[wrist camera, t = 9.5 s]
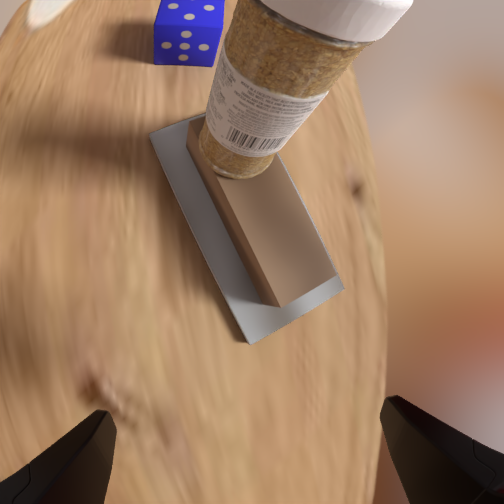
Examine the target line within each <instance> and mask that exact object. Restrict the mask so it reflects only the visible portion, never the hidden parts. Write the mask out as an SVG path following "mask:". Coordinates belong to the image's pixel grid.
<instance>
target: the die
mask: <svg viewBox="0 0 504 504" xmlns="http://www.w3.org/2000/svg"><path fill="white" fill-rule="evenodd" d="M224 1H225V0H161V2H160V6H159V9H158V13H157V16H156V20H155V23H154V64H155V65H190V66H207V67H212V66H213V64H214V60H215V56H216V52H217V48H218V45H219V41H220V37H221V33H222V30H223V18H224Z"/></svg>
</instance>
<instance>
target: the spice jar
mask: <svg viewBox="0 0 504 504" xmlns="http://www.w3.org/2000/svg"><path fill="white" fill-rule="evenodd" d="M412 3H413V0H238V2H237V5H236V8H235V10H234V13H233V19H232V22H231V25H230V27H229V30H228V32H227V34H226V36H225V39H224V42H223V46H222V49H221V53H220V57H219V61H218V65H217V68H216V72H215V76H214V80H213V84H212V88H211V92H210V96H209V100H208V104H207V108H206V118H205V122H204V126H203V128H202V130H201V132H200V135H199V151H200V153H201V155H202V158H203V159H204V161H205V162H206V163H207V165H208V166H209V167H211V168H212V170H214V171H215V172H216V173H218V174H220V175H223V176H225V177H228V178H233V179H247V178H252V177H254V176H256V175H258V174H260V173H262V172H263V171H264V170H265V169H267V168H268V166H269V165H270V164H271V162H272V160H273V158H274V155H275V154H276V153H277V152H278V151H279V150H280V149H281V148H282V147H283V146H284V145H285V143H286V142H287V141H288V140H289V139H290V138H291V136H292V135H293V134H294V133H295V131H296V130H297V129H298V128H299V127H300V126H301V125H302V123H303V122H304V121H305V120H306V119H307V117H308V116H309V115H310V114H311V113H312V112H313V110H314V109H315V108H316V107H317V106H318V104H319V103H320V102H321V101H322V100H323V99H324V97H325V96H326V95H327V93H328V92H329V90H330V89H331V87H332V86H333V85H334V83H335V82H336V81H337V80H338V78H339V77H340V76H341V75H342V73H343V72H344V71H345V70H346V69H347V68H348V67H349V65H350V64H351V63H352V61H353V60H354V59H355V58H356V57H357V56H358V55H359V53H360V51H362V50H363V49H364V48H365V47H366V46H369V45H371V44H372V43H373V42H374V41H375V40H378V39H381V38H382V37H383V36H384V35H385V34H386V33H387V32H388V31H389V30H390V29H391V28H392V27H393V25H394V24H395V23H396V22H397V21H398V20H399V19H400V18H401V16H402V15H403V14H404V13H405V12H406V11H407V10H408V9H409V7H410V6H411V5H412Z"/></svg>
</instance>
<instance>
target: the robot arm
mask: <svg viewBox="0 0 504 504" xmlns="http://www.w3.org/2000/svg"><path fill="white" fill-rule="evenodd" d="M380 421H381V424H382V428H383V431H384V435H385V438H386V442H387V445H388V449H389V452H390V455H391V458H392V461H393V463H394V465H395V468H396V470H397V473H398V475H399V478H400V480H401V483H402V485H403V488H404V490H405V493H406V495H407V498H408V501H409V503H410V504H504V454H503V453H500V452H498V451H496V450H494V449H491V448H489V447H487V446H485V445H483V444H481V443H480V442H478V441H476V440H474V439H473V440H472V438H470V437H469V436H467V435H465V434H463V433H462V432H460V431H458V430H456V429H454V428H453V427H451V426H449V425H447V424H446V423H444V422H442V421H440V420H439V419H437V418H435V417H434V416H432V415H430V414H429V413H427V412H425V411H423V410H422V409H420V408H418V407H417V406H415V405H413V404H412V403H410V402H408V401H407V400H405V399H403V398H402V397H400V396H398V395H393V396H389V397H386V398H385V400H384V403H383V406H382V409H381V412H380ZM116 434H117V430H116V426H115V423H114V421H113V419H112V417H111V414H110V412H109V411H107V410H99V409H98V410H96V411H94V412H93V413H92V414H91V415H89V416H88V417H87V418H86V419H84V420H83V421H82V422H80V423H79V424H78V425H77V426H75V427H74V428H73V429H72V430H70V431H69V432H68V433H67V434H65V435H64V436H63V437H61V438H60V439H59V440H58V441H56V442H55V443H54V444H53V445H51V446H50V447H49V448H47V449H46V450H45V451H44V452H42V453H41V454H40V455H38V456H37V457H36V458H34V459H33V460H32V461H31V462H30V463H28V464H27V465H25V466H24V467H23V468H21V469H20V470H18V471H17V472H16V473H14V474H13V475H11V476H10V477H8V478H7V479H5V480H3V481H2V482H0V504H104V500H105V496H106V492H107V487H108V483H109V479H110V475H111V470H112V464H113V456H114V448H115V441H116Z"/></svg>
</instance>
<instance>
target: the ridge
mask: <svg viewBox="0 0 504 504" xmlns="http://www.w3.org/2000/svg"><path fill="white" fill-rule="evenodd" d="M205 118H206V113H205V114H202V115H199V116H196V117H193V118H190V119H187V120H184V121H181V122H179V123H176V124H173V125H170V126H168V127H165V128H162V129H160V130H157V131H155V132H152V133H150V134H149V138H150V141H151V143H152V145H153V148H154V150H155V152H156V155H157V157H158V159H159V161H160V164H161V166H162V168H163V171H164V173H165V175H166V177H167V179H168V182H169V184H170V186H171V188H172V191H173V193H174V195H175V197H176V199H177V201H178V204H179V206H180V208H181V210H182V212H183V214H184V217H185V219H186V221H187V223H188V225H189V227H190V229H191V231H192V233H193V236H194V238H195V240H196V242H197V244H198V246H199V248H200V250H201V252H202V254H203V256H204V258H205V260H206V262H207V265H208V267H209V269H210V271H211V273H212V275H213V277H214V279H215V281H216V283H217V285H218V287H219V289H220V291H221V293H222V295H223V297H224V299H225V301H226V303H227V305H228V306H229V308H230V310H231V312H232V314H233V316H234V318H235V320H236V322H237V324H238V326H239V328H240V330H241V332H242V334H243V335H244V337H245V339H246V341H247V343H248V344H249V345H252V344H254V343H255V342H257V341H259V340H261V339H262V338H264V337H266V336H268V335H270V334H271V333H273V332H275V331H277V330H278V329H280V328H282V327H283V326H285V325H287V324H289V323H290V322H292V321H294V320H295V319H297V318H299V317H300V316H302V315H304V314H305V313H307V312H309V311H310V310H312V309H314V308H315V307H317V306H318V305H320V304H322V303H323V302H325V301H326V300H328V299H330V298H331V297H333V296H334V295H336V294H338V293H339V292H341V291H342V290H344V289H345V288H344V286H343V284H342V281H341V279H340V277H339V275H338V273H337V270H336V268H335V266H334V264H333V262H332V259H331V257H330V255H329V253H328V251H327V249H326V247H325V244H324V242H323V240H322V238H321V236H320V234H319V232H318V230H317V228H316V226H315V224H314V222H313V220H312V218H311V216H310V213H309V211H308V209H307V207H306V205H305V203H304V201H303V199H302V198H301V196H300V194H299V192H298V190H297V188H296V186H295V184H294V182H293V180H292V178H291V176H290V174H289V172H288V170H287V169H286V167H285V165H284V163H283V161H282V159H281V157H280V155H279V154H278V152H277V153H276V154H275V155H274V158H273V160H272V162H271V164H270V165H269V166H268V168H267V169H265V170H264V171H263V172H262V173H260V174H258V175H256V176H254V177H252V178H247V179H233V178H228V177H225V176H223V175H220V174H218V173H216V172H215V171H214V170H212V168H211V167H209V166H208V165H207V163H206V162H205V161H204V159H203V158H202V155H201V153H200V151H199V135H200V132H201V130H202V128H203V126H204V122H205Z"/></svg>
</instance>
